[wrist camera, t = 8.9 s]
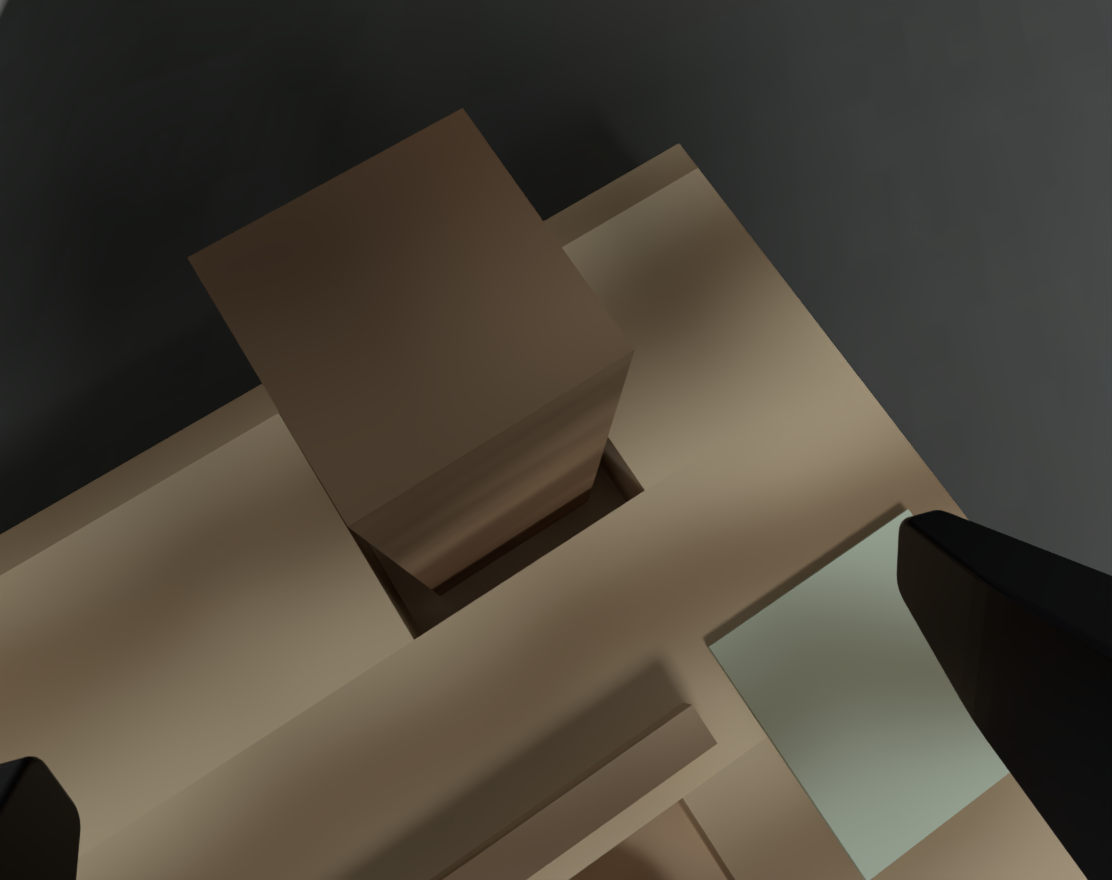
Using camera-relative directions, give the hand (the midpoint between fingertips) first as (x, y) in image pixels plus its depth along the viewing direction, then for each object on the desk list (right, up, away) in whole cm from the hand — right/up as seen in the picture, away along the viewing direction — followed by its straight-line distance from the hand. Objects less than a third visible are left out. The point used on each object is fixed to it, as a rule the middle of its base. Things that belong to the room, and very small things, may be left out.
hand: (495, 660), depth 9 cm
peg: (-1, +1, +11) cm, 12 cm away
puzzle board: (0, -5, +11) cm, 11 cm away
